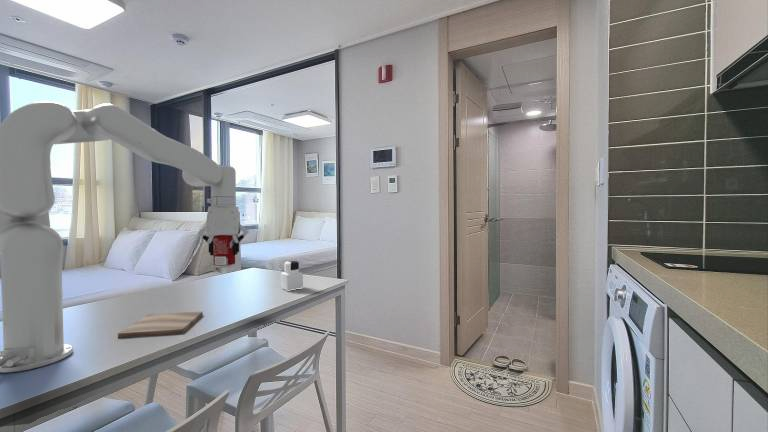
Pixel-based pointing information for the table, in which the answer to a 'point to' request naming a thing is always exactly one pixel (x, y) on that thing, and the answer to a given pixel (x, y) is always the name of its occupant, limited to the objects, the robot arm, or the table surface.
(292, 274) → the white security camera
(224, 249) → the soda can
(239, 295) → the table surface
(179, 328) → the walnut board
